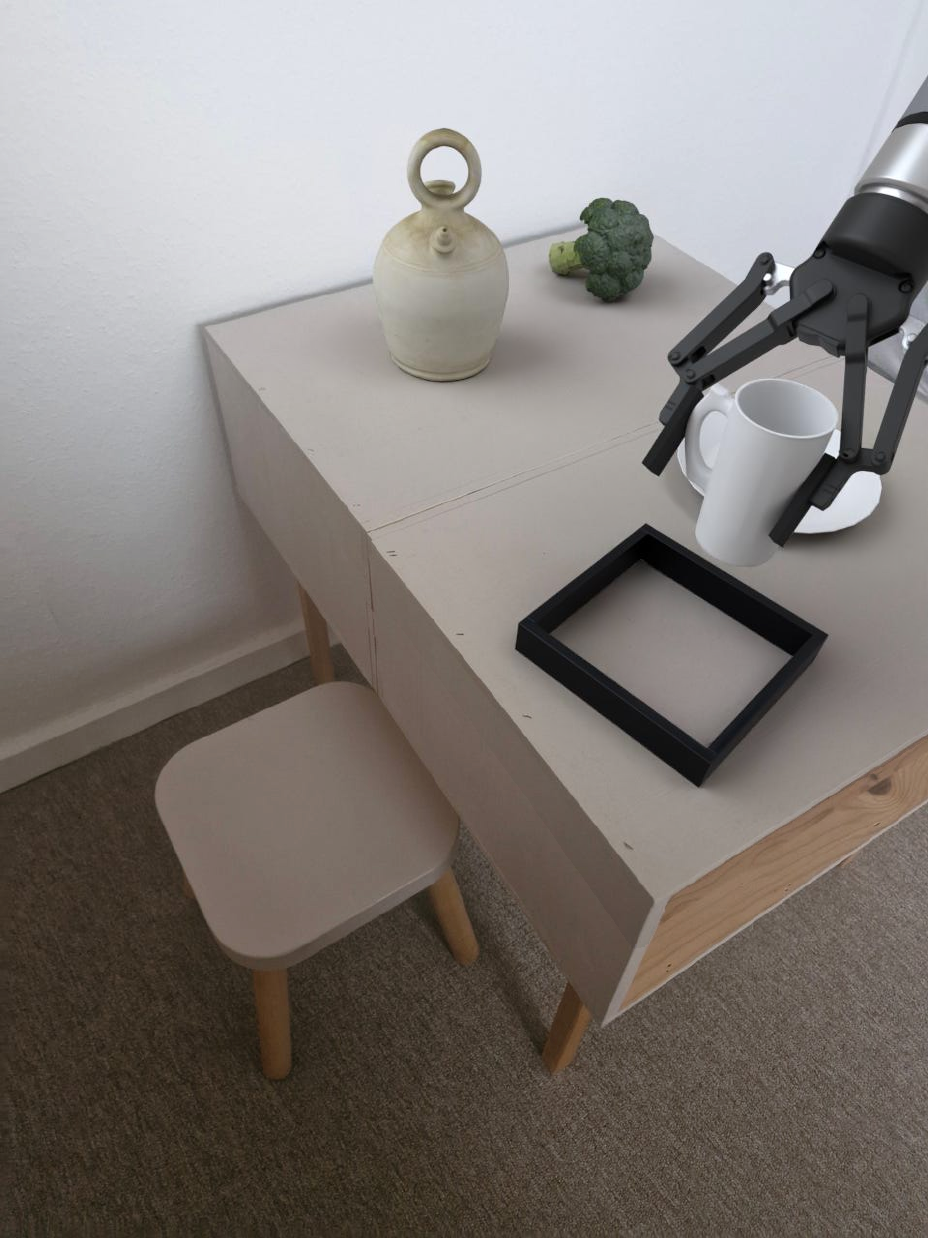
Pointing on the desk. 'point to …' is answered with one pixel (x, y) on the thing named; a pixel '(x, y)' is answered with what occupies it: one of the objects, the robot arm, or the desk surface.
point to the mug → (755, 463)
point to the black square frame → (625, 706)
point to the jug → (441, 274)
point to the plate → (842, 513)
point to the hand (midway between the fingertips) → (710, 504)
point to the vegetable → (608, 248)
